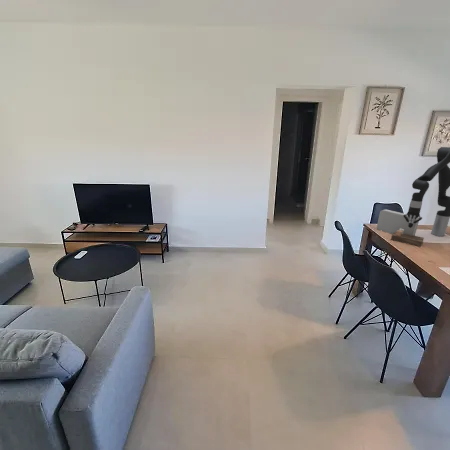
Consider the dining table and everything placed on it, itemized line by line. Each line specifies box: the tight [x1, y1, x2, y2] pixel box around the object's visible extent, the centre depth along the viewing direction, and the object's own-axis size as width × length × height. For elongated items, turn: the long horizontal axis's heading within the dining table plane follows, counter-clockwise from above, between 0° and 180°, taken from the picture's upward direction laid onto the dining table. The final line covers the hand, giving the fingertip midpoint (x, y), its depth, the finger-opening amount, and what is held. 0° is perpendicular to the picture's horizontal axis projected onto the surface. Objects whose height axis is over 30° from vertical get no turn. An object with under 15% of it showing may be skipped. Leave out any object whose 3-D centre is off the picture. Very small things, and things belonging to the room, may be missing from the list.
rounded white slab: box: [376, 209, 420, 236], centre depth 235 cm, size 29×8×18 cm, turn 36°
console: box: [390, 231, 425, 248], centre depth 220 cm, size 12×20×4 cm, turn 49°
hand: (410, 227), depth 220 cm, fingers closed
